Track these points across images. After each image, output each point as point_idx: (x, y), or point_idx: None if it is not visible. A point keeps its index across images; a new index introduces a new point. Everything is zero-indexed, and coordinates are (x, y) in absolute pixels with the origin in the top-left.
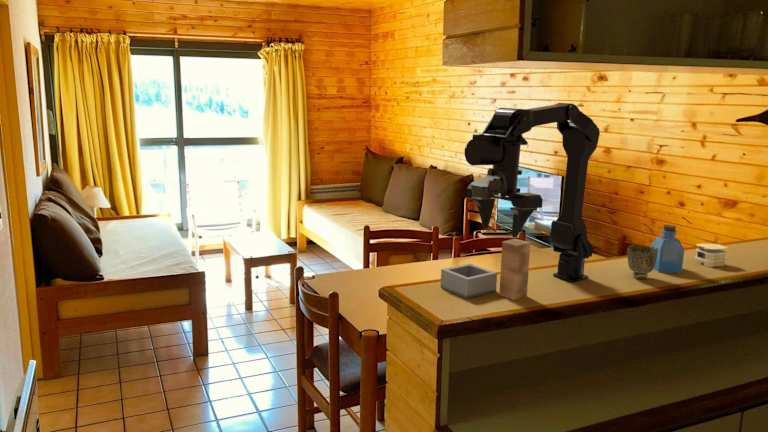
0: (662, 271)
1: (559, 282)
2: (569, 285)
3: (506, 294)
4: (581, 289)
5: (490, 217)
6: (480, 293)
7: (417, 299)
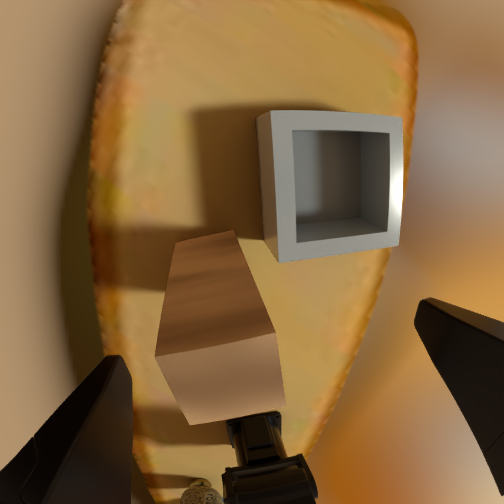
0: None
1: None
2: None
3: (207, 238)
4: None
5: (452, 389)
6: (260, 175)
7: (316, 9)
